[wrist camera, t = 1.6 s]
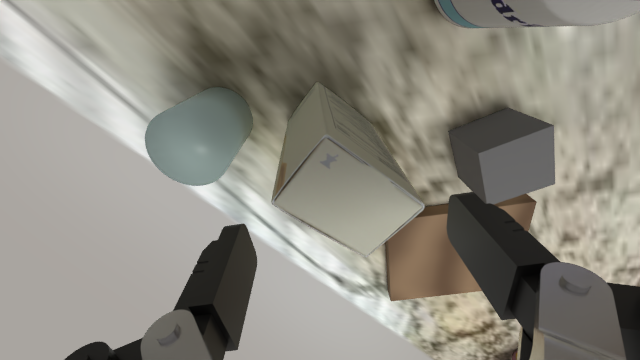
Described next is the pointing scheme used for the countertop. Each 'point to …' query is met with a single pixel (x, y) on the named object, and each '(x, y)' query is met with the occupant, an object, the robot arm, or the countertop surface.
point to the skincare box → (342, 175)
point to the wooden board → (437, 253)
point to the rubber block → (504, 155)
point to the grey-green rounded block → (199, 136)
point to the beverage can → (535, 12)
